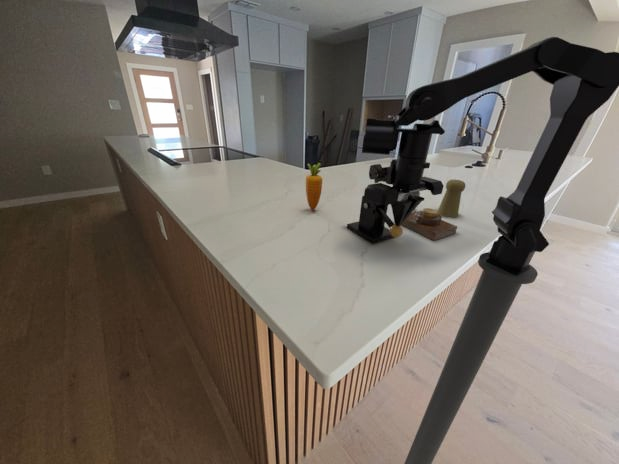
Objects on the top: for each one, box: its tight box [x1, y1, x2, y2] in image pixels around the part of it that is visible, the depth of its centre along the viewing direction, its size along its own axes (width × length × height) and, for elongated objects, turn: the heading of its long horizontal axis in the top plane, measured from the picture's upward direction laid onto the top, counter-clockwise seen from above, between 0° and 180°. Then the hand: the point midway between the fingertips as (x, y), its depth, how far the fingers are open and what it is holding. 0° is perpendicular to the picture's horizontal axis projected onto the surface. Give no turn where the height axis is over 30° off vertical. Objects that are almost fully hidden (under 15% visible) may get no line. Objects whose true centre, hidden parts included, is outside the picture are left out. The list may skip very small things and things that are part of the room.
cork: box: [436, 179, 466, 219], centre depth 79 cm, size 6×6×11 cm
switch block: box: [401, 210, 458, 241], centre depth 70 cm, size 12×9×4 cm
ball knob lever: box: [376, 203, 404, 238], centre depth 62 cm, size 12×3×3 cm, turn 30°
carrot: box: [305, 162, 323, 212], centre depth 77 cm, size 5×5×15 cm
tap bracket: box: [346, 195, 394, 244], centre depth 65 cm, size 10×8×10 cm
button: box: [421, 207, 438, 218], centre depth 69 cm, size 4×4×2 cm
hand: (397, 225), depth 59 cm, fingers closed, pressing on ball knob lever
